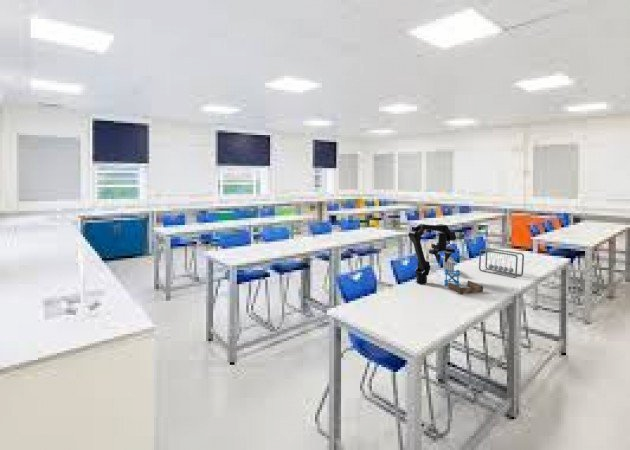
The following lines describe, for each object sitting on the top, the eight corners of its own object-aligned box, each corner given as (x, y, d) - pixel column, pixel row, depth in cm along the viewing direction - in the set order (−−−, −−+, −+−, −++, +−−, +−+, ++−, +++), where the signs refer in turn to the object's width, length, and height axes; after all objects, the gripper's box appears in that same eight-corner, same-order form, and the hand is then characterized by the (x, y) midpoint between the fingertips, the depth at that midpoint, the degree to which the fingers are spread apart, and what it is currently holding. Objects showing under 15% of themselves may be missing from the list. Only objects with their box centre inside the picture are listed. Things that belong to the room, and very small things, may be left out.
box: (461, 294, 241) (461, 288, 241) (448, 288, 255) (448, 282, 255) (482, 292, 246) (483, 286, 245) (468, 286, 259) (468, 280, 259)
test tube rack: (456, 276, 285) (457, 259, 284) (451, 276, 285) (451, 259, 284) (445, 269, 310) (446, 253, 309) (440, 269, 310) (440, 253, 309)
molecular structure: (459, 283, 267) (459, 269, 266) (459, 287, 258) (460, 272, 257) (444, 282, 271) (444, 268, 270) (444, 285, 261) (444, 271, 260)
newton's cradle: (523, 276, 284) (524, 253, 282) (516, 278, 278) (517, 255, 276) (485, 269, 308) (486, 247, 306) (478, 270, 302) (479, 249, 300)
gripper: (447, 239, 283) (446, 259, 285) (425, 240, 278) (424, 261, 280) (456, 241, 272) (455, 262, 274) (433, 243, 268) (433, 264, 269)
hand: (441, 262), depth 275 cm, fingers open, 6 cm apart
